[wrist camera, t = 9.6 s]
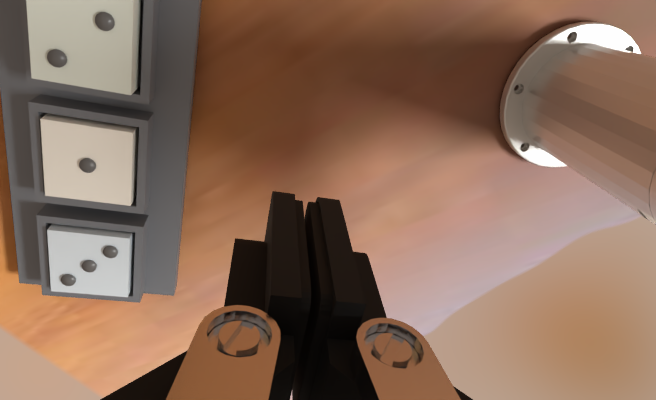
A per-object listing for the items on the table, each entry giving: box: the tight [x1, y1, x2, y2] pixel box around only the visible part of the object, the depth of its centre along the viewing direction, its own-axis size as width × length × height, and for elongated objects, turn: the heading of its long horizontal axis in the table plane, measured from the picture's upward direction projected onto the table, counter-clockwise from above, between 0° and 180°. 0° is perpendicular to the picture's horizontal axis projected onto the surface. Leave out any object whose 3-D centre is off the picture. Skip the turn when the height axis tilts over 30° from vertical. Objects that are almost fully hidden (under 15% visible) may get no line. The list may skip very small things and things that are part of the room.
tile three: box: [47, 224, 135, 297], centre depth 38 cm, size 6×6×2 cm
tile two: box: [26, 0, 141, 95], centre depth 29 cm, size 6×6×2 cm
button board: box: [0, 0, 202, 302], centre depth 35 cm, size 13×27×4 cm, turn 168°
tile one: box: [40, 113, 139, 206], centre depth 34 cm, size 6×6×2 cm
